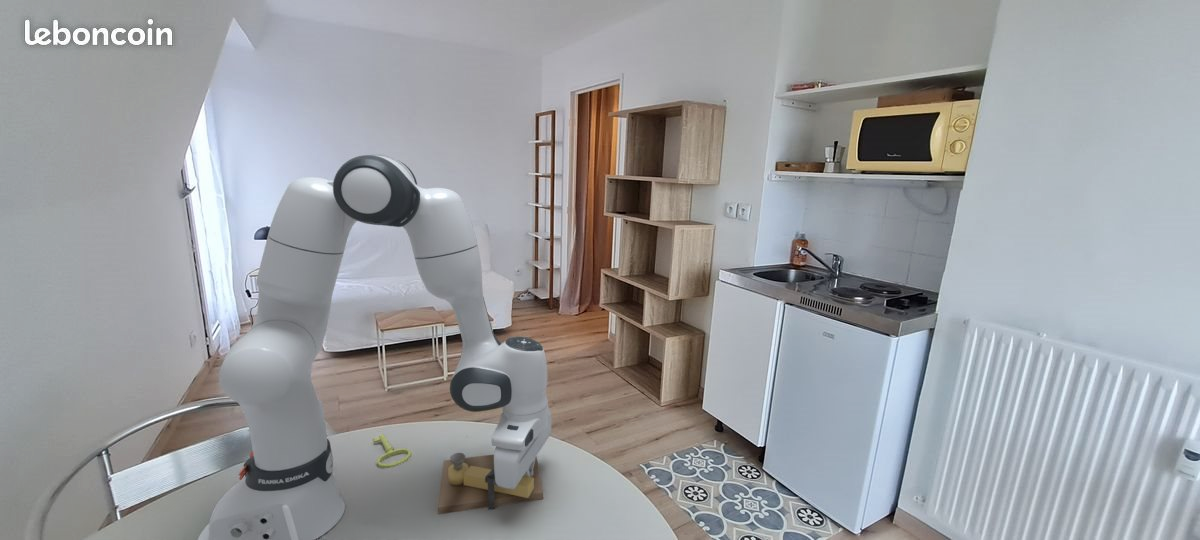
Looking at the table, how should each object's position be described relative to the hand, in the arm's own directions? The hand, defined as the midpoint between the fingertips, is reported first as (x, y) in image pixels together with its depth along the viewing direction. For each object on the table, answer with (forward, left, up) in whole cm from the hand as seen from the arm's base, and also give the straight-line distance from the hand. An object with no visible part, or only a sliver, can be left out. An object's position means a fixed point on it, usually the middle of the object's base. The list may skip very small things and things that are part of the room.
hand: (527, 478), depth 96 cm
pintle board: (-7, +4, -3) cm, 8 cm away
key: (-30, +19, -3) cm, 36 cm away
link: (-7, +1, -1) cm, 8 cm away
